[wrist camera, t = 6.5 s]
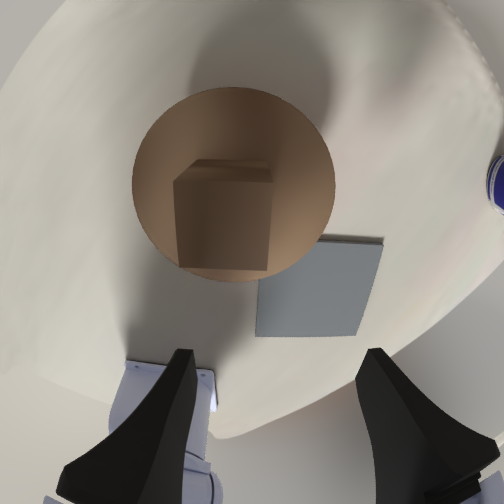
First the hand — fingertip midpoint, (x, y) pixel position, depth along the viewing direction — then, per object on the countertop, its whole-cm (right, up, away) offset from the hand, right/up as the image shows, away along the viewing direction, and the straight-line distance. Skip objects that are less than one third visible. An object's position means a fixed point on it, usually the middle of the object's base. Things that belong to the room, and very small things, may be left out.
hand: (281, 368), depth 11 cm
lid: (-2, +8, +2) cm, 8 cm away
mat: (+4, +2, +11) cm, 12 cm away
